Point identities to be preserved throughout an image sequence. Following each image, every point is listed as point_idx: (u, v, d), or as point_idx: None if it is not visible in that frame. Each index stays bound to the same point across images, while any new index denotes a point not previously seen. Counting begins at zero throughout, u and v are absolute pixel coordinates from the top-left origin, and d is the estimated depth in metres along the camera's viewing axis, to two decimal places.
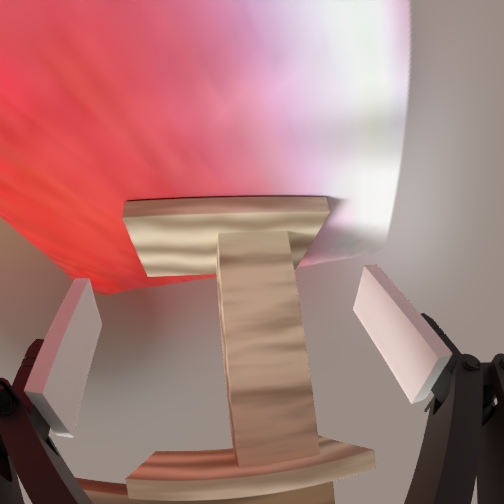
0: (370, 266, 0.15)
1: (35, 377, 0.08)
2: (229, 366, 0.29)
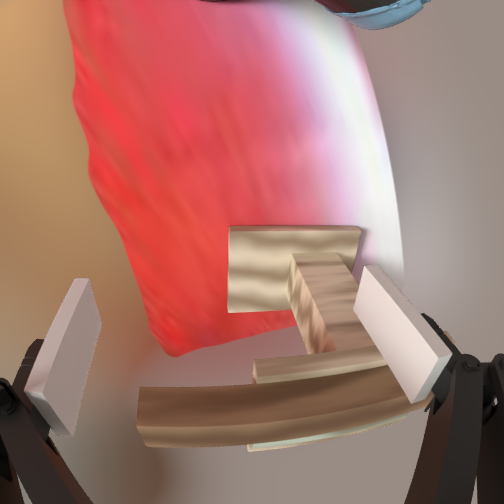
0: (370, 266, 0.15)
1: (35, 377, 0.08)
2: (319, 311, 0.39)
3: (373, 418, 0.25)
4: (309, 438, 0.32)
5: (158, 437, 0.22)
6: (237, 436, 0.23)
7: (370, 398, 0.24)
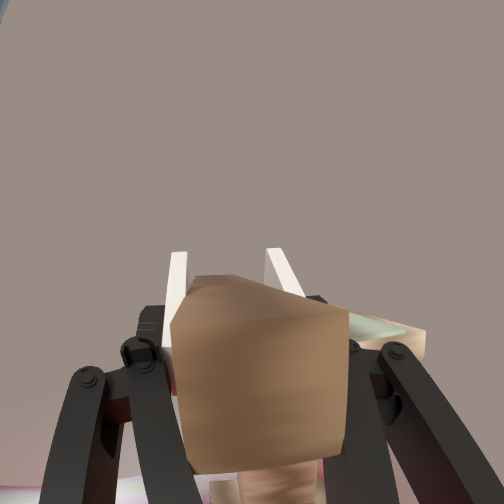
0: (272, 249, 0.16)
1: None
2: None
3: (230, 277, 0.27)
4: (350, 316, 0.25)
5: (252, 309, 0.08)
6: (234, 289, 0.15)
7: None
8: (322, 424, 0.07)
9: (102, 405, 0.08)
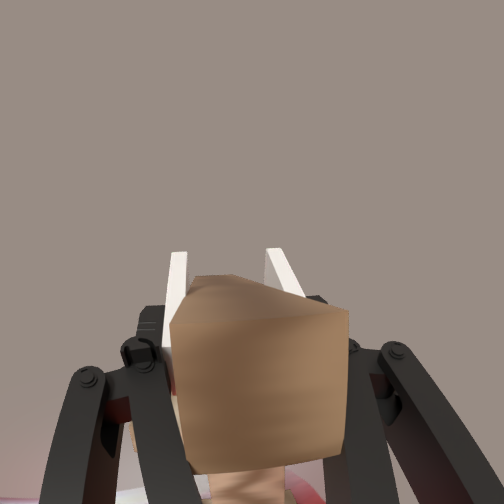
0: (272, 249, 0.16)
1: None
2: None
3: (230, 277, 0.27)
4: None
5: (251, 309, 0.08)
6: (234, 289, 0.15)
7: None
8: (322, 424, 0.07)
9: (102, 405, 0.08)
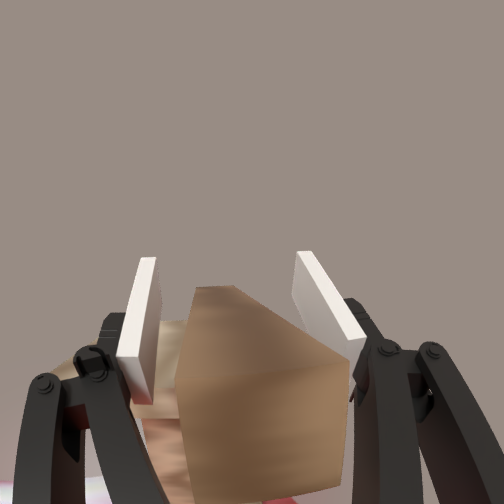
0: (303, 252, 0.16)
1: (126, 343, 0.09)
2: (150, 459, 0.25)
3: (230, 291, 0.27)
4: None
5: (254, 354, 0.08)
6: (236, 315, 0.14)
7: None
8: (321, 462, 0.07)
9: (60, 410, 0.07)
